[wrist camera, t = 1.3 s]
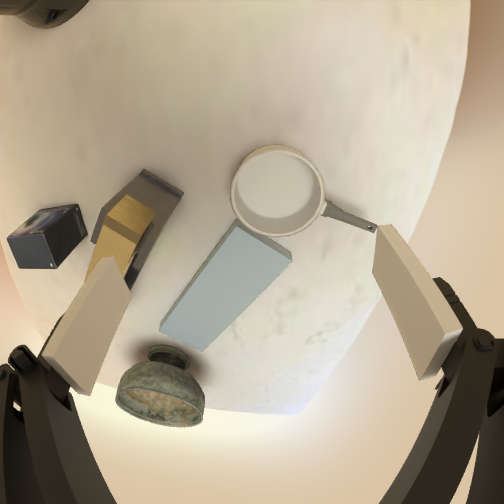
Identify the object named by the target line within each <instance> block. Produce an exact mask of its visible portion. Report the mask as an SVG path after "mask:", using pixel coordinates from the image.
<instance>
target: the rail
mask: <svg viewBox="0 0 504 504" xmlns="http://www.w3.org/2000/svg"><path fill="white" fill-rule="evenodd" d="M156 213H157V212H155V211H153V210H152V209H150V208H148V207H147V206H145V205H143V204H142V203H140V202H138V201H137V200H135V199H133V198H132V197H130V196H128V195H127V194H126V195H125V196H124V197H123V198H122V199H121V200H120V201H119V202H118V203H117V204H116V205H115V206H114V207H113V208H112V209H111V210H110V211H109V212H108V213H107V214H106V216H105V219H104V222H103V226H102V229H101V232H100V235H99V237H98V240H97V243H96V246H95V249H94V252H93V255H92V258H91V262H90V265H89V268H88V271H87V275H86V278H85V281H86V280H87V278H88V277H89V275H90V274H91V272H92V271H93V269H94V268H95V267H96V265H97V264H98V262H99V261H100V260H101V258H102V257H109V256H113V257H114V259H115V261H116V263H117V265H118V268H119V270H120V272H121V274H122V276H123V278H124V277H125V274H126V272H127V270H128V268H129V266H130V264H131V262H132V260H133V257H134V255H135V253H136V251H137V249H138V247H139V245H140V243H141V241H142V239H143V237H144V235H145V233H146V231H147V229H148V228H149V226H150V224H151V222H152V221H153V219H154V217H155V215H156ZM84 283H85V282H84Z"/></svg>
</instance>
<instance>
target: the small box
mask: <svg viewBox="0 0 504 504" xmlns="http://www.w3.org/2000/svg"><path fill="white" fill-rule="evenodd" d="M86 236H87V232H86V229H85V226H84V223H83V219H82V216H81V212H80V209H79V206H78V204H75V205H68V206H62V207H55V208H49V209H43V210H39V211H38V212H37V213H35V214H34V215H33V216H32V217H31V218H29V219H28V220H27V221H26V222H25V223H23V224H22V225H21V226H20V227H19V228H17V229H16V230H15V231H14V232H13V233H12V234H11V235H9V236H8V237H7V241H8V243H9V246H10V248H11V250H12V253H13V255H14V258H15V260H16V262H17V265H18V267H19V268H20V269H57V268H58V267H59V266H60V264H61V263H62V262H63V261H64V260H65V259H66V257H67V256H68V255H69V254H70V253H71V252H72V251H73V250H74V248H75V247H76V246H77V245H78V244H79V243H80V242H81V241H82V240H83V239H84V238H85V237H86Z"/></svg>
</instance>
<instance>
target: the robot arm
mask: <svg viewBox="0 0 504 504" xmlns="http://www.w3.org/2000/svg"><path fill="white" fill-rule="evenodd" d="M87 2H88V0H0V15H15V16H16V17H18V18H19V19H21V20H22V21H24V22H25V23H27V24H28V25H30V26H32V27H36V28H52V27H55V26H58V25H60V24H62V23H64V22H65V21H67V20H68V19H70V18H71V17H72V16H74V15H75V14H76V13H77V12H78V11H79V10H80V9H81V8H82V7H83V6H84V5H85V4H86V3H87ZM372 273H373V275H374V277H375V279H376V281H377V283H378V285H379V287H380V289H381V292H382V294H383V296H384V298H385V300H386V302H387V304H388V306H389V309H390V311H391V313H392V315H393V317H394V320H395V322H396V324H397V327H398V329H399V331H400V333H401V336H402V338H403V341H404V343H405V346H406V348H407V350H408V353H409V355H410V358H411V360H412V363H413V366H414V368H415V371H416V374H417V376H418V379H419V381H421V380H424V379H427V378H430V377H433V376H436V374H437V373H438V371H439V370H440V368H441V367H442V370H443V372H444V376H443V377H442V379H441V380H440V381H439V383H438V384H437V386H436V388H435V389H436V390H437V389H438V391H437V393H436V396H435V399H434V401H433V404H432V406H431V409H430V411H429V413H428V416H427V418H426V420H425V423H424V425H423V427H422V429H421V432H420V434H419V436H418V438H417V440H416V442H415V444H414V446H413V448H412V450H411V452H410V454H409V456H408V458H407V459H406V461H405V463H404V464H403V466H402V468H401V470H400V472H399V473H398V475H397V477H396V478H395V480H394V481H393V483H392V485H391V486H390V488H389V489H388V491H387V492H386V494H385V495H384V497H383V498H382V500H381V501H380V503H379V504H450V502H451V500H452V498H453V496H454V494H455V492H456V490H457V488H458V486H459V483H460V481H461V479H462V477H463V474H464V472H465V470H466V467H467V465H468V462H469V460H470V457H471V455H472V452H473V449H474V446H475V444H476V441H477V437H478V434H479V442H478V449H477V456H476V462H475V467H474V473H473V477H472V482H471V486H470V491H469V494H468V498H467V502H466V504H504V339H495V338H494V336H493V335H492V334H491V333H490V332H488V331H486V330H484V329H479V328H477V327H476V325H475V323H474V321H473V320H472V318H471V317H470V315H469V313H468V312H467V310H466V309H465V307H464V306H463V304H462V302H460V300H459V298H458V296H457V295H455V292H454V291H453V289H452V288H451V286H450V285H449V284H448V283H447V282H445V281H444V280H443V279H442V278H440V277H438V278H433V279H432V278H431V276H430V275H429V273H428V272H427V270H426V269H425V268H424V266H423V265H422V263H421V262H420V261H419V259H418V258H417V257H416V255H415V254H414V252H413V251H412V250H411V248H410V247H409V246H408V244H407V243H406V242H405V240H404V239H403V238H402V237H401V235H400V234H399V233H398V231H397V230H396V229H395V228H394V226H393V225H392V224H389V225H379V226H377V237H376V246H375V255H374V263H373V270H372ZM131 297H132V295H131V293H130V291H129V289H128V287H127V285H126V283H125V280H124V278H123V276H122V274H121V272H120V270H119V268H118V265H117V263H116V261H115V259H114V257H113V256H109V257H102V258H101V260H100V261H99V262H98V264H97V265H96V267H95V268H94V269H93V271H92V272H91V274H90V275H89V277H88V278H87V280H86V281H85V283H84V284H83V286H82V287H81V289H80V290H79V292H78V293H77V295H76V296H75V298H74V300H73V301H72V303H71V304H70V306H69V308H68V309H67V311H66V312H65V313H64V314H63V315H62V316H61V317H60V318H59V319H58V321H57V323H56V325H55V326H54V329H53V330H52V331H51V333H50V335H49V337H48V338H47V340H46V342H45V344H44V346H43V348H42V350H41V351H40V353H39V355H38V357H37V358H36V356H35V355H34V354H33V353H32V352H31V351H30V349H29V348H28V347H27V346H26V345H20V346H17V347H16V348H15V349H14V350H13V351H12V353H11V354H10V356H9V358H8V363H9V364H10V365H11V366H12V367H13V368H14V369H15V370H13V369H12V368H11V367H10V365H8V364H3V365H1V366H0V504H117V503H116V501H115V499H114V498H113V496H112V494H111V492H110V490H109V489H108V486H107V484H106V482H105V480H104V478H103V476H102V474H101V472H100V470H99V467H98V465H97V463H96V461H95V459H94V456H93V454H92V451H91V449H90V446H89V444H88V441H87V439H86V436H85V433H84V430H83V428H82V425H81V422H80V419H79V416H78V413H77V410H76V407H75V403H74V400H73V397H72V395H71V393H70V392H69V388H70V386H71V387H72V388H73V389H74V390H75V391H76V392H77V393H79V394H83V395H88V396H90V395H91V392H92V389H93V387H94V384H95V381H96V379H97V376H98V374H99V371H100V368H101V366H102V363H103V361H104V358H105V356H106V353H107V351H108V349H109V346H110V344H111V342H112V339H113V337H114V335H115V332H116V330H117V328H118V325H119V323H120V321H121V319H122V316H123V314H124V312H125V310H126V308H127V306H128V303H129V301H130V299H131ZM14 402H15V403H16V404H17V405H19V406H20V407H21V409H20V411H18V410H16V409H15V408H14V407H13V403H14ZM479 431H480V432H479Z"/></svg>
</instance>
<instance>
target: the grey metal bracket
mask: <svg viewBox="0 0 504 504" xmlns="http://www.w3.org/2000/svg"><path fill="white" fill-rule="evenodd" d="M126 194H127V195H128V196H130V197H132V198H133V199H135V200H137V201H138V202H140V203H142V204H143V205H145V206H147V207H148V208H150V209H152V210H153V211H155V212H157V213H156V215H155V217H154V219H153V221H152V222H151V224H150V226H149V228H148V229H147V231H146V233H145V235H144V237H143V239H142V241H141V243H140V245H139V247H138V249H137V251H136V253H135V255H134V257H133V260H132V262H131V264H130V266H129V268H128V270H127V272H126V274H125V277H124V280H125V283H126V285H127V287H128V289H129V291H130V290H131V288H132V286H133V284H134V282H135V280H136V278H137V276H138V274H139V272H140V270H141V268H142V267H143V265H144V263H145V261H146V259H147V257H148V255H149V253H150V251H151V250H152V248H153V246H154V244H155V242H156V241H157V239H158V237H159V235H160V233H161V232H162V230H163V228H164V226H165V225H166V223H167V221H168V219H169V218H170V216H171V214H172V213H173V211H174V209H175V207H176V206H177V204H178V202H179V201H180V199H181V197H182V196H183V194H184V193H183V192H182V191H180V190H179V189H177V188H175V187H174V186H172V185H170V184H169V183H167V182H165V181H164V180H162V179H160V178H159V177H157V176H155V175H154V174H152V173H150V172H149V171H147V170H145V169H143V170H142V171H141V173H140V174H139V175H138V176H137V177H135V178H134V179H133V180H132V181H131V182H130V183H128V184H127V185H126V186H125V187H124V188H123V189H122V190H121V191H120V192H118V193H117V194H116V195H115V196H114V197H113V198H112V199H111V200H110V201H109V202H108V203H107V204H105V205H104V206H103V207H102V209H101V212H100V214H99V217H98V220H97V223H96V226H95V229H94V231H93V234H92V237H91V242H92V243H94V244H96V243H97V240H98V237H99V235H100V232H101V229H102V226H103V222H104V219H105V216H106V214H107V213H108V212H109V211H110V210H111V209H112V208H113V207H114V206H115V205H116V204H117V203H118V202H119V201H120V200H121V199H122V198H123V197H124V196H125V195H126Z"/></svg>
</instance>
